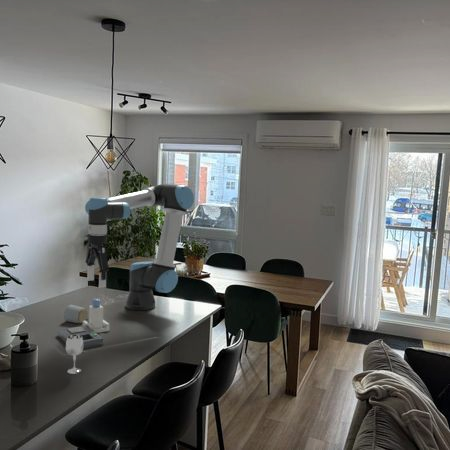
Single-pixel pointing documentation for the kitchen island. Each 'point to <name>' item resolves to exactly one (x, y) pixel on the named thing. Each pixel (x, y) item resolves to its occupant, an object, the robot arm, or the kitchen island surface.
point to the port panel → (87, 334)
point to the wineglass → (74, 350)
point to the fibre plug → (96, 315)
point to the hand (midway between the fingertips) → (96, 283)
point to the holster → (105, 328)
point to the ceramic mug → (75, 314)
